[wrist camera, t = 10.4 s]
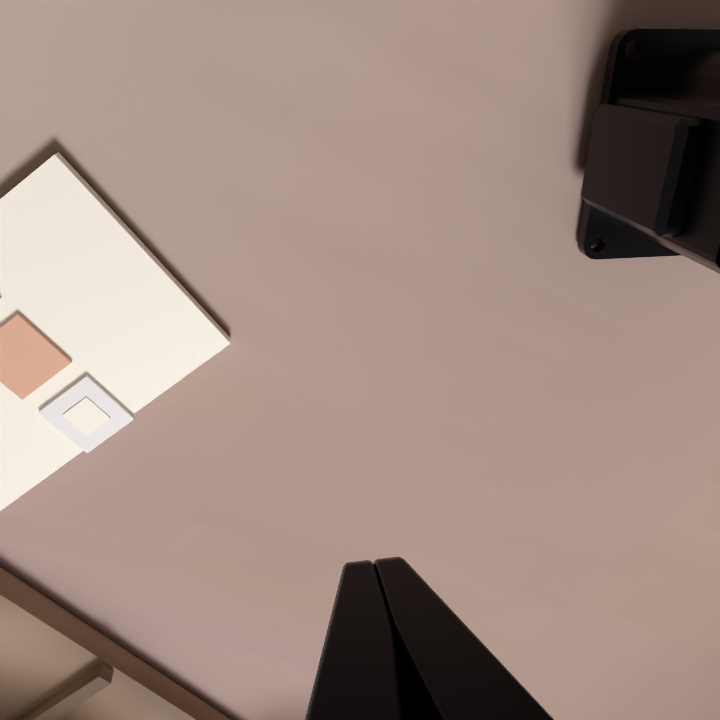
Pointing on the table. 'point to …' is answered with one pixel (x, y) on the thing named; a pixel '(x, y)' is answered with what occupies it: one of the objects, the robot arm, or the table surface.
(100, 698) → the brown divided rack
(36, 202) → the pattern card
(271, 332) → the table surface
